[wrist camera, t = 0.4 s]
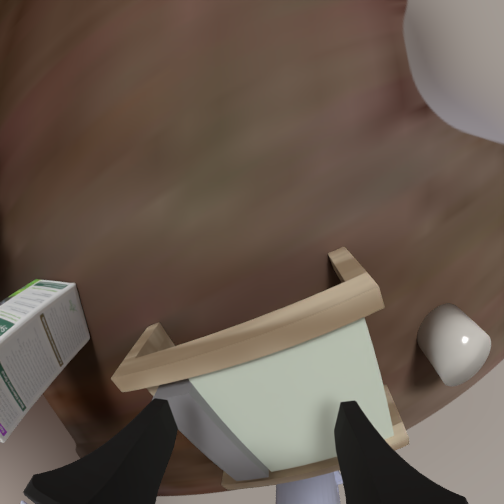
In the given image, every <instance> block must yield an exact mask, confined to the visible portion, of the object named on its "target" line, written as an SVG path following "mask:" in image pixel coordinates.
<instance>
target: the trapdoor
mask: <svg viewBox="0 0 504 504" xmlns="http://www.w3.org/2000/svg"><path fill="white" fill-rule="evenodd" d="M154 398H157V399H164V400H168V403H169V405H170V408H171V411H172V414H173V416H174V419H175V422H176V424H177V427H178V429H179V430H180V431H181V432H182V433H183V434H184V435H185V436H186V437H187V438H188V439H189V440H190V441H191V442H192V443H193V444H194V445H195V446H196V447H197V448H198V449H199V450H200V451H201V452H203V453H204V454H205V455H206V456H207V457H208V458H209V459H210V460H212V461H213V462H214V463H215V464H216V465H217V466H219V467H220V468H221V469H222V470H223V471H224V472H226V473H227V474H228V475H229V476H231V477H232V478H233V479H234V480H236V481H243V480H252V479H260V478H266V477H269V470H270V471H271V472H273V471H279V470H284V469H289V468H294V467H298V466H303V465H307V464H311V463H315V462H319V461H322V460H326V459H330V458H333V457H336V456H337V454H336V447H335V437H334V428H335V424H336V420H337V416H338V411H339V407H340V402H345V401H354V400H355V401H356V402H357V403H358V405H359V406H360V408H361V409H362V411H363V412H364V414H365V415H366V417H367V418H368V419H369V421H370V422H371V423H372V425H373V426H374V427H375V429H376V430H377V431H378V432H379V434H380V435H381V436H382V437H383V439H387V438H389V437H392V436H394V432H393V427H392V422H391V417H390V412H389V408H388V403H387V399H386V395H385V391H384V386H383V382H382V378H381V374H380V371H379V367H378V363H377V359H376V356H375V352H374V349H373V345H372V342H371V338H370V335H369V331H368V328H367V325H366V322H365V318H364V317H363V318H361V319H359V320H356V321H354V322H352V323H350V324H347V325H345V326H343V327H340V328H338V329H335V330H333V331H331V332H328V333H326V334H323V335H321V336H318V337H316V338H313V339H310V340H308V341H305V342H303V343H300V344H297V345H295V346H292V347H289V348H286V349H283V350H281V351H278V352H275V353H272V354H269V355H266V356H263V357H260V358H257V359H254V360H251V361H248V362H244V363H241V364H238V365H235V366H231V367H228V368H224V369H221V370H217V371H214V372H210V373H207V374H203V375H199V376H195V377H191V378H187V379H183V380H179V381H175V382H171V383H166V384H162V385H159V387H158V389H157V391H156V393H155V395H154V397H153V399H154ZM153 399H152V400H153Z"/></svg>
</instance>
